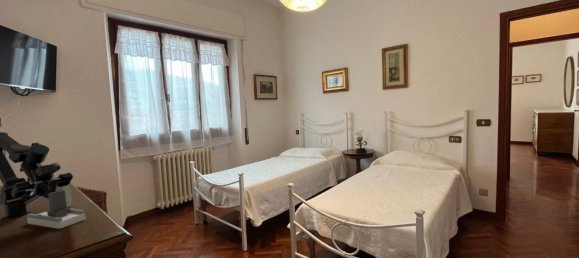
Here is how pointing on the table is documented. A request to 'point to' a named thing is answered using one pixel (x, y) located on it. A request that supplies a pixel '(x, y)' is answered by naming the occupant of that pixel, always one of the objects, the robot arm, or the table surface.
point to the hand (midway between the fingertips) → (55, 199)
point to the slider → (57, 204)
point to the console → (56, 219)
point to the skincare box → (66, 194)
